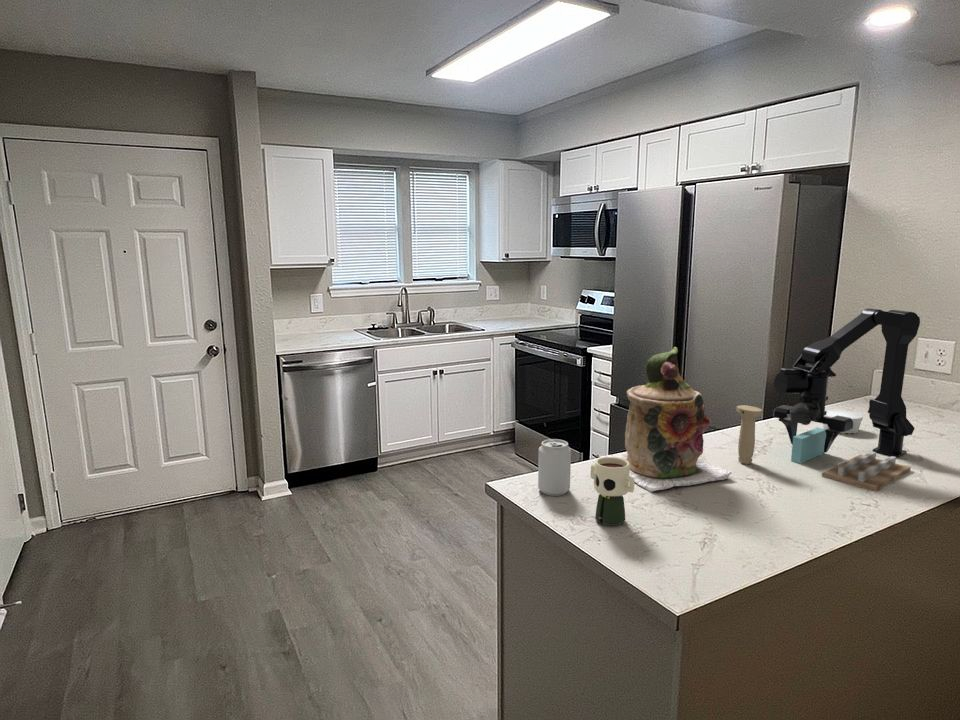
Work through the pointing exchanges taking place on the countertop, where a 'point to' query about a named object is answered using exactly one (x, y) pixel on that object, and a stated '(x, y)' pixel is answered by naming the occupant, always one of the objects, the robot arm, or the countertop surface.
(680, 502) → the countertop surface
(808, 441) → the door panel
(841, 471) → the track
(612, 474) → the character mug
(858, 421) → the ramekin
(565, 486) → the can
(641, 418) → the cookie jar
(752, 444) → the handle
